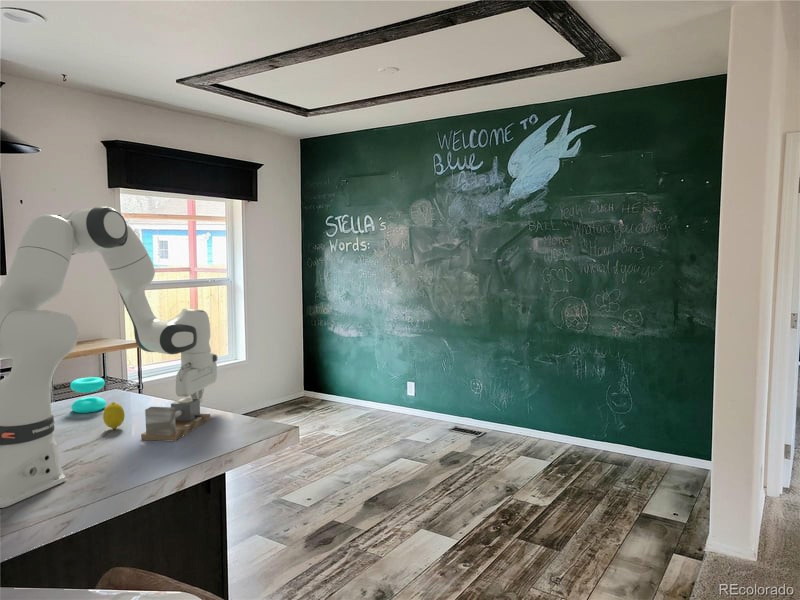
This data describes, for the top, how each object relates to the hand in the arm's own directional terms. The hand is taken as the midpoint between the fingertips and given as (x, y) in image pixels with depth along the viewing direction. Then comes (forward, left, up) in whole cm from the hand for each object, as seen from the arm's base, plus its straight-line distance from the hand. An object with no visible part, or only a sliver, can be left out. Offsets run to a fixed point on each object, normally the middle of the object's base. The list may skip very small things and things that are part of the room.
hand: (197, 403), depth 182 cm
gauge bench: (-12, 0, -4) cm, 13 cm away
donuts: (+3, +39, -4) cm, 39 cm away
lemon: (-15, +18, -4) cm, 24 cm away
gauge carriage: (-9, -1, -2) cm, 9 cm away
